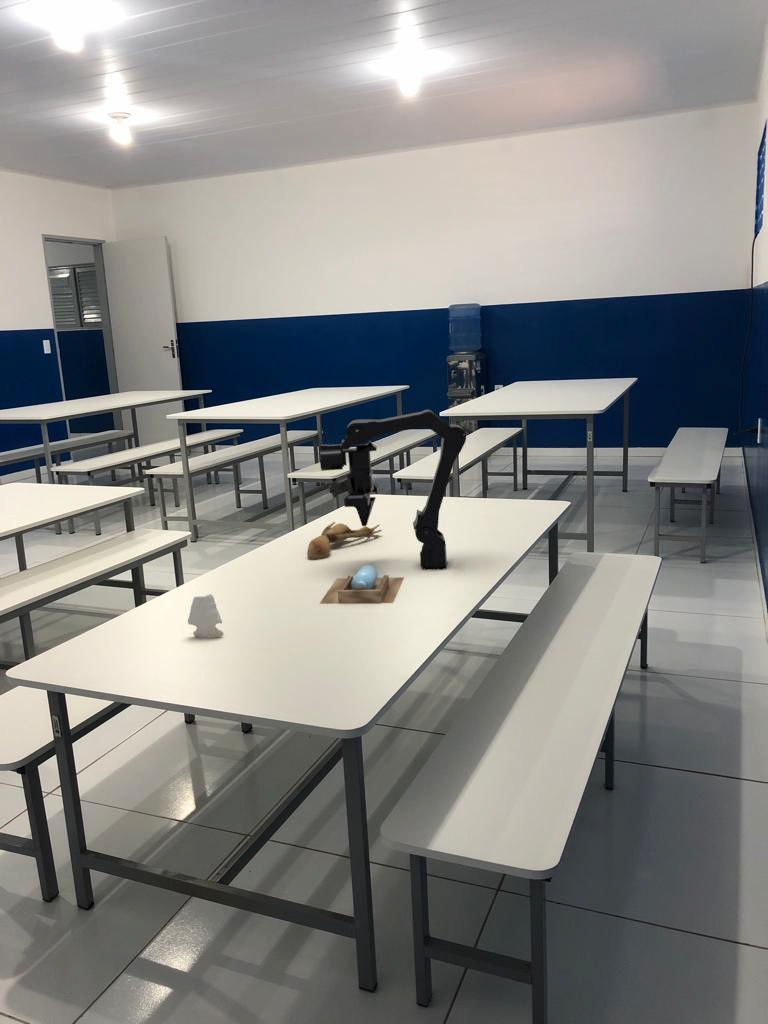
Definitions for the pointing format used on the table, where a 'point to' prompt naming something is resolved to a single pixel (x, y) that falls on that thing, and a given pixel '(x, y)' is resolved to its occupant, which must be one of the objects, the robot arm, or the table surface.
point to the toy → (336, 538)
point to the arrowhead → (205, 616)
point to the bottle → (365, 578)
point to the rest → (363, 591)
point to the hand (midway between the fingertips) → (364, 525)
